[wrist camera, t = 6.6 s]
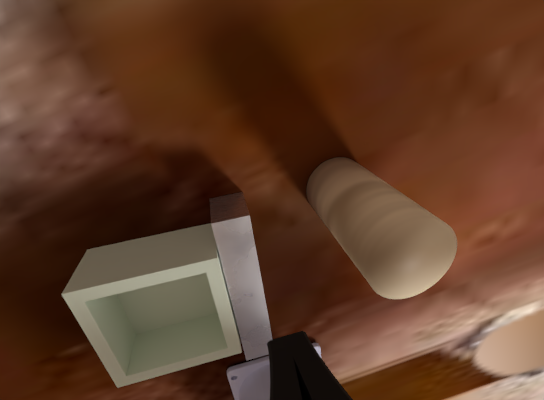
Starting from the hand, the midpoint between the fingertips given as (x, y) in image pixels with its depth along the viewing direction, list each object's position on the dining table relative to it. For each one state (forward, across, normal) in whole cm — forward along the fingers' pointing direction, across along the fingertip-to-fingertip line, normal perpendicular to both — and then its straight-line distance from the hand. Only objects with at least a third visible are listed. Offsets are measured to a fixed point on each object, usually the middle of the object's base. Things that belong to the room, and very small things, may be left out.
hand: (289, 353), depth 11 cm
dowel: (+10, -6, -1) cm, 11 cm away
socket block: (+10, +6, +3) cm, 12 cm away
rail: (+9, +1, +3) cm, 10 cm away
